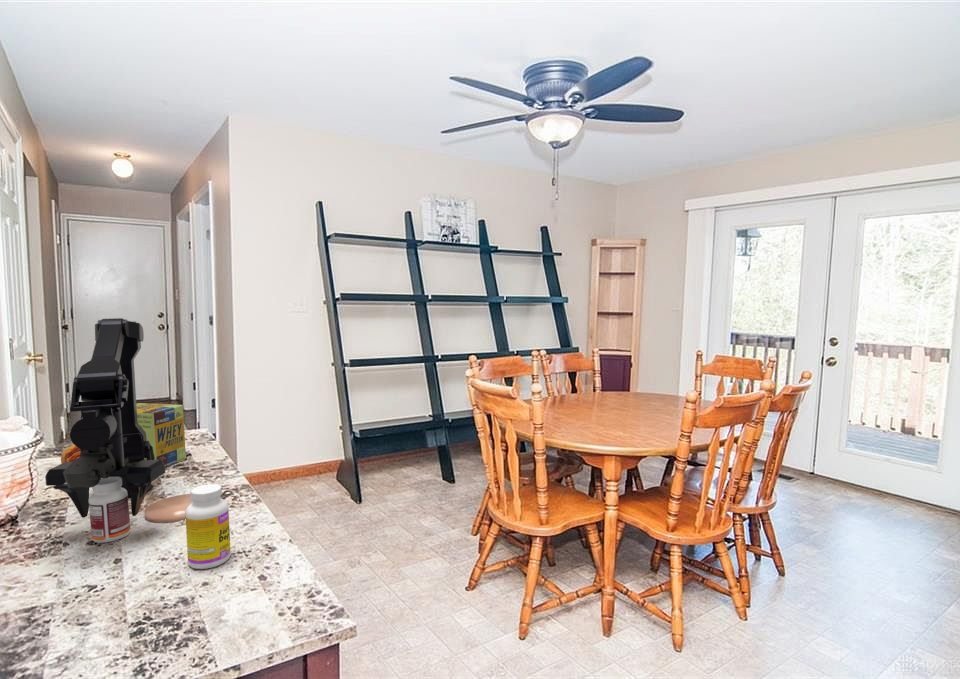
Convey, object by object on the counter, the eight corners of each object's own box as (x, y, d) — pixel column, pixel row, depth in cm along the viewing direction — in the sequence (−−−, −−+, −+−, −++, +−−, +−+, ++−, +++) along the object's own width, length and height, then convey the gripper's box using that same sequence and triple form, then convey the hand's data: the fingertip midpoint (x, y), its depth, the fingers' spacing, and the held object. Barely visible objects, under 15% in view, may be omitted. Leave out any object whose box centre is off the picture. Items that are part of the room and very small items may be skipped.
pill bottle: (132, 526, 107) (129, 472, 106) (128, 539, 102) (124, 482, 101) (95, 533, 105) (90, 477, 104) (88, 546, 99) (83, 488, 98)
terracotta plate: (131, 523, 109) (130, 519, 109) (164, 498, 122) (164, 494, 122) (197, 521, 110) (197, 516, 109) (223, 497, 122) (223, 492, 122)
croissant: (73, 469, 153) (54, 447, 151) (110, 447, 158) (92, 425, 156) (72, 489, 136) (50, 465, 134) (113, 464, 141) (93, 440, 138)
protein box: (157, 471, 140) (153, 413, 139) (108, 467, 144) (104, 410, 142) (187, 459, 150) (184, 404, 149) (141, 456, 154) (137, 402, 152)
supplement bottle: (224, 569, 91) (220, 494, 90) (182, 572, 90) (177, 497, 89) (235, 550, 97) (232, 480, 96) (196, 553, 96) (192, 483, 95)
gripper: (18, 449, 93) (25, 537, 94) (130, 447, 94) (136, 533, 95) (63, 432, 104) (70, 510, 105) (163, 430, 105) (168, 508, 107)
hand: (110, 516), depth 103 cm, fingers open, 9 cm apart
